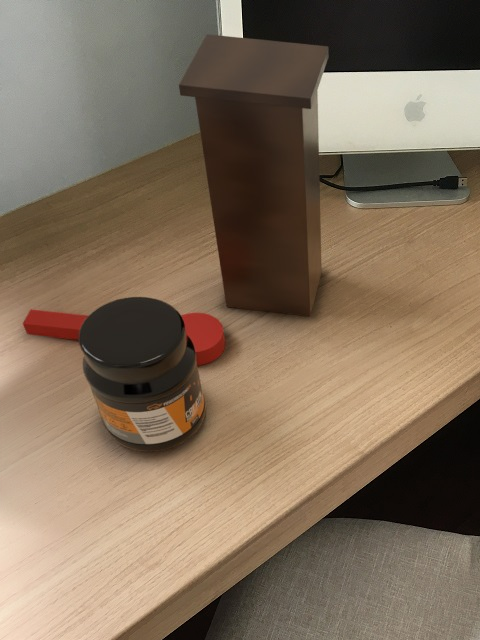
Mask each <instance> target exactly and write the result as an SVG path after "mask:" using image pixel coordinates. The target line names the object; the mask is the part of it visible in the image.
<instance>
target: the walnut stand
mask: <svg viewBox="0 0 480 640" xmlns="http://www.w3.org/2000/svg"><path fill="white" fill-rule="evenodd" d="M329 50H330V49H329V46H327V45H317V44H308V43H297V42H289V41H288V42H286V41H279V40H270V39H269V40H268V39H258V38H248V37H240V36H239V37H238V36H237V37H236V36H229V35H228V36H227V35H218V34H208V33H207V34H205V36H204V37H203V40H202V41H201V43H200V45H199V47H198V48H197V50H196V52H195V54H194V56H193V58H192V60H191V62H190V63H189V65H188V67H187V68H186V70H185V73H184V74H183V76H182V78H181V80H180V82H179V84H178V89H179V95H180V97H181V96H182V97H190V98H194V101H195V107H196V114H197V120H198V121H197V122H198V126H199V127H198V128H199V133H200V141H201V147H202V154H203V160H204V167H205V173H206V174H205V175H206V181H207V187H208V194H209V200H210V206H211V213H212V220H213V227H214V233H215V240H216V246H217V247H216V248H217V254H218V261H219V266H220V267H219V268H220V273H221V274H220V275H221V280H222V287H223V294H224V300H225V307H227V308H234V309H235V308H236V309H244V310H251V311H261V312H271V313H279V314H287V315H288V314H289V315H297V316H304V317H311V316H312V311H313V308H314V304H315V301H316V297H317V292H318V289H319V285H320V281H321V278H322V269H323V268H322V229H321V228H322V227H321V187H320V186H321V185H320V183H321V182H320V180H321V179H320V146H319V145H320V143H319V141H320V140H319V137H320V136H319V135H320V134H319V99H318V96H319V95H318V92H319V91H318V89H319V88H320V84H321V81H322V78H323V74H324V73H325V69H326V66H327V64H328V60H329V58H330V55H329V54H330V53H329V52H330V51H329Z"/></svg>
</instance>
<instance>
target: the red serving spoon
mask: <svg viewBox="0 0 480 640" xmlns="http://www.w3.org/2000/svg"><path fill="white" fill-rule="evenodd" d="M180 315H181V316H182V318H183V321H184V324H185V329H186V334H187V335H188V336H189V337H190V339H191V340H192V342H193V344H194V347H195V350H196V357H197V360H196V362H197V366H203V365H207V364H210V363H212V362H214V361H216V360H217V359H218V358H220V357H221V355H222V354H224V351H225V349H226V339H225V333H224V331H225V330H224V326H223V324H222V322H221V321H220V320H219V319H218V318H216V317H215V316H213V315H210V314H208V313H205V312H188V313H184V314H180ZM88 316H89V315H86V314H77V313H68V312H57V311H50V310H39V309H32V308H31V309H30V310H29V311H28V313H27V315H26V317H25V318H24V320H23V322H22V325H23V328H24V330H25V333H26V334H27V335H31V336H39V337H49V338H58V339H66V340H76V341H79V331H80V328H81V326H82V324H83V322H84V321H85V319H86V318H87V317H88Z"/></svg>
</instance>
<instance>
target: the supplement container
mask: <svg viewBox="0 0 480 640" xmlns="http://www.w3.org/2000/svg"><path fill="white" fill-rule="evenodd" d="M181 315H182V314H181V313H180V312H179V311H178V310H177V308H176V307H174V306H172V305H171V304H169V303H168V302H166V301H164V300H160V299H157V298H154V297H147V296H128V297H124V298H118V299H115V300H112V301H109V302H107V303H105V304H102V305H101V306H99V307H97V308H96V309H94V310H93V311H92V312H91V313H89V314H88V315H87V316H88V317H87V318H86V319H85V321H84V322H83V324H82V326H81V328H80V331H79V340H78V344H79V347H80V350H81V353H82V355H83V357H82V371H83V375H84V377H85V380H86V383H88V385H89V388H90V390H91V392H92V396H93V398H94V401H95V403H96V406H97V409H98V411H99V414H100V417H101V421H102V424H103V427H104V429H105V431H106V432H107V434H108V435H109V436H110V438H112V439H113V440H114V441H115V442H116V443H118V444H120V445H121V446H123V447H125V448H128V449H131V450H134V451H139V452H160V451H165V450H169V449H172V448H175V447H177V446H179V445H181V444H183V443H185V442H186V441H187V440H189V439H190V438H192V437H193V436H194V434H196V432H197V431H198V430H199V429H200V427H201V426H202V423H203V422H204V420H205V417H206V410H207V403H206V397H205V394H204V391H203V386H202V382H201V377H200V373H199V368H198V365H197V362H196V360H197V357H196V350H195V347H194V344H193V342H192V340H191V339H190V337H189V336H188V335H187V334H186V329H185V324H184V321H183V318H182V316H181Z"/></svg>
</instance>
